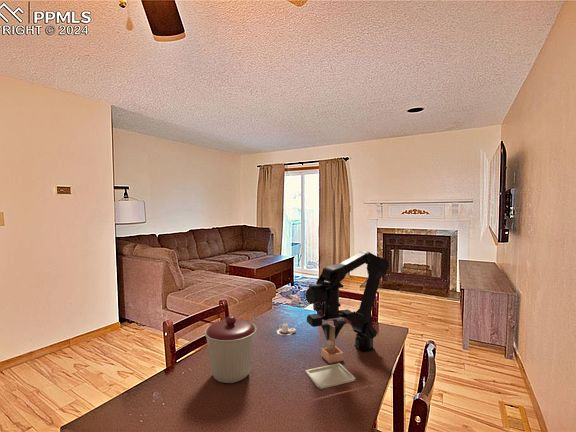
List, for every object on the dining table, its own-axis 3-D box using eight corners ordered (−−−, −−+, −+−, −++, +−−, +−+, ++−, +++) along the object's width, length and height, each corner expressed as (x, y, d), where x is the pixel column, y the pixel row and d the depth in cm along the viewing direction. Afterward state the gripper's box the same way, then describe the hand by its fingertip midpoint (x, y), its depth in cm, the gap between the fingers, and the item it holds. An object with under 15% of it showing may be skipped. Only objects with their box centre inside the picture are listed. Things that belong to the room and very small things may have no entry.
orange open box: (335, 354, 126) (335, 345, 126) (343, 361, 120) (343, 352, 120) (321, 357, 124) (321, 348, 124) (329, 364, 118) (329, 355, 118)
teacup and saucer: (298, 332, 149) (298, 323, 148) (289, 338, 142) (289, 329, 142) (282, 328, 153) (282, 319, 153) (273, 333, 147) (273, 325, 146)
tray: (339, 366, 117) (339, 363, 117) (356, 381, 107) (356, 378, 106) (305, 373, 112) (305, 370, 112) (319, 390, 101) (319, 387, 101)
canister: (264, 366, 116) (264, 311, 115) (242, 395, 99) (241, 329, 98) (222, 358, 122) (221, 305, 121) (194, 384, 105) (193, 322, 104)
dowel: (332, 347, 123) (332, 324, 123) (336, 350, 121) (336, 327, 120) (325, 348, 122) (325, 325, 122) (329, 351, 120) (329, 328, 119)
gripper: (341, 291, 132) (341, 328, 132) (300, 296, 125) (300, 334, 125) (356, 299, 121) (356, 338, 122) (313, 304, 114) (312, 346, 115)
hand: (331, 339), depth 121 cm, fingers closed on dowel, 3 cm apart
